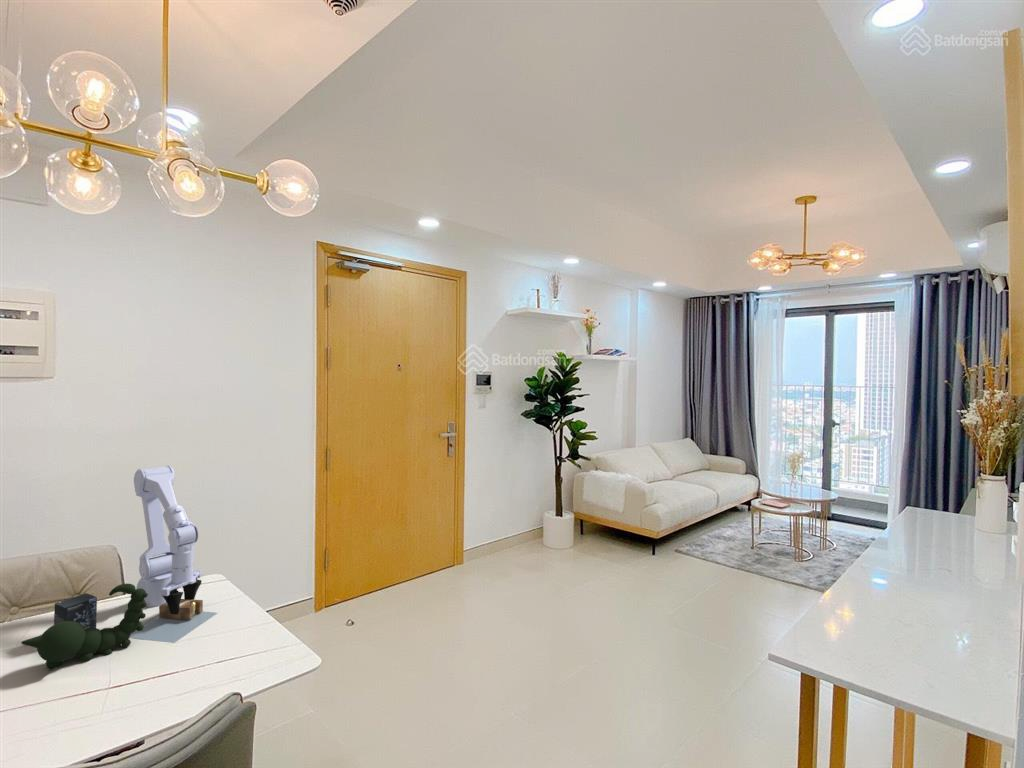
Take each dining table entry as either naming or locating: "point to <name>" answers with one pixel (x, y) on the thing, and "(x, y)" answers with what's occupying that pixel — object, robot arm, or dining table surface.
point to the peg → (193, 607)
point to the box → (77, 610)
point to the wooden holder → (181, 609)
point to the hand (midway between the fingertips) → (181, 609)
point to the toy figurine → (90, 633)
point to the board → (170, 628)
